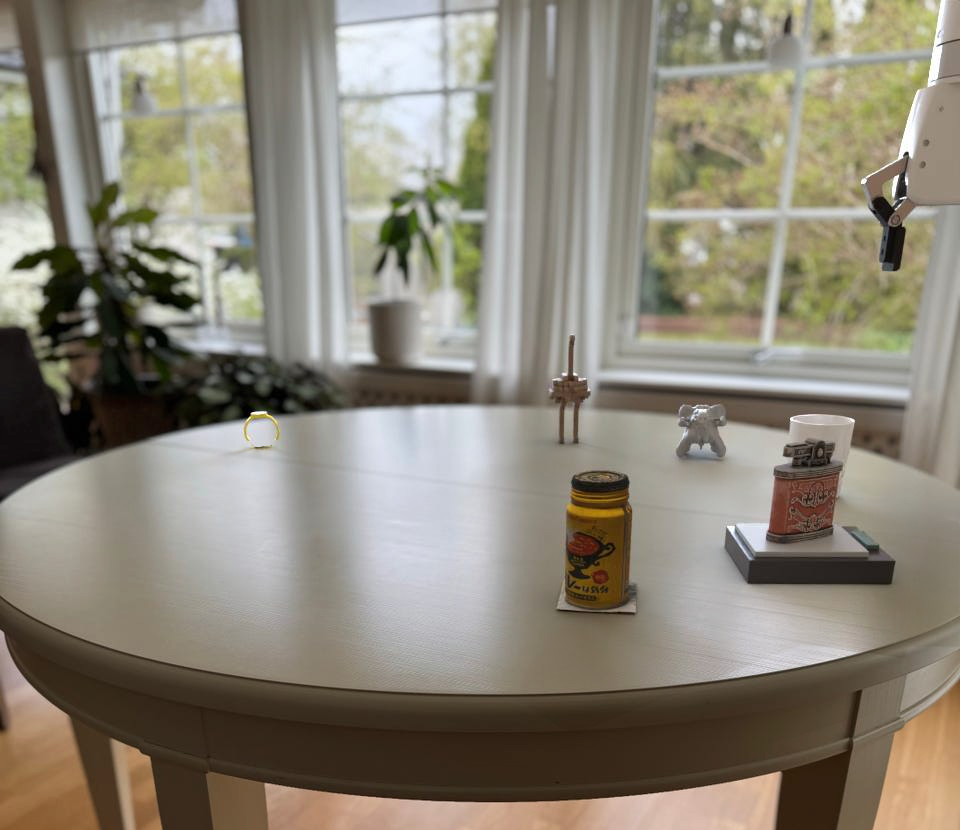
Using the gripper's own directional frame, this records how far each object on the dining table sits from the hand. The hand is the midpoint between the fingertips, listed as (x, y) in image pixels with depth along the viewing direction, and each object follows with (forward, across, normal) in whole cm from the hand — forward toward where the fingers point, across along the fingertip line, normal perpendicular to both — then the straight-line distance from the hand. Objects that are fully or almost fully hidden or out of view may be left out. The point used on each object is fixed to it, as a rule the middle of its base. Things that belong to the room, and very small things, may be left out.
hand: (939, 270), depth 88 cm
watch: (+28, +88, -55) cm, 108 cm away
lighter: (+25, +13, +8) cm, 29 cm away
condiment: (+28, +34, +18) cm, 48 cm away
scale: (+28, +12, +8) cm, 32 cm away
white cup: (+28, +3, -21) cm, 35 cm away
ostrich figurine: (+28, +35, -63) cm, 77 cm away
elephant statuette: (+28, +14, -48) cm, 58 cm away
